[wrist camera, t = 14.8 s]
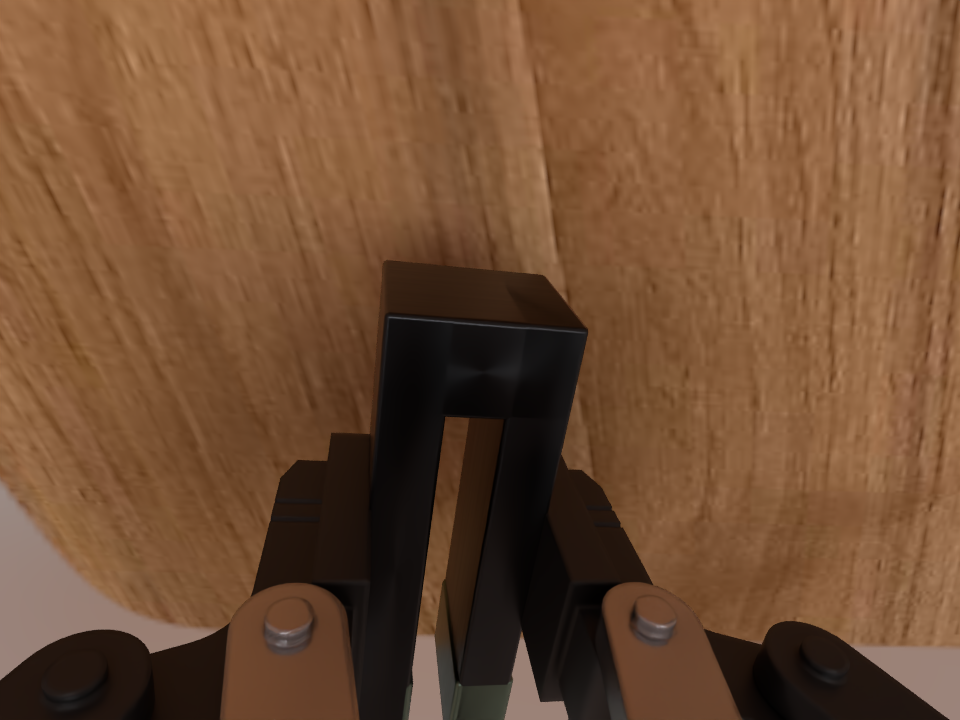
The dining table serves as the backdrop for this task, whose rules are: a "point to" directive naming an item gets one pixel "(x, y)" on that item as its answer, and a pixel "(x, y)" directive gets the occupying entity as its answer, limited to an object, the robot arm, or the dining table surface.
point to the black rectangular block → (484, 478)
